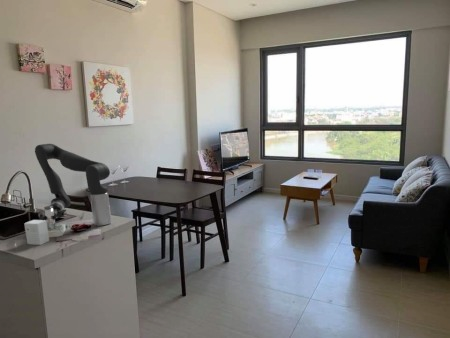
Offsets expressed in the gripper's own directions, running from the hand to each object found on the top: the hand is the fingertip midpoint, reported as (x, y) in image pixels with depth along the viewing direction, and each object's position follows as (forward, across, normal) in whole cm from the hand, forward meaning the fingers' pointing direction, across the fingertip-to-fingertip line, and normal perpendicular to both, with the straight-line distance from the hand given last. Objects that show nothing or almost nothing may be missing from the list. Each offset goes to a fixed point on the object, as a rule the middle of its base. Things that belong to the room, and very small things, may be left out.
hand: (48, 218), depth 172 cm
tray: (-3, 0, +9) cm, 9 cm away
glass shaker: (-3, 0, +7) cm, 7 cm away
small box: (+8, -4, +9) cm, 13 cm away
